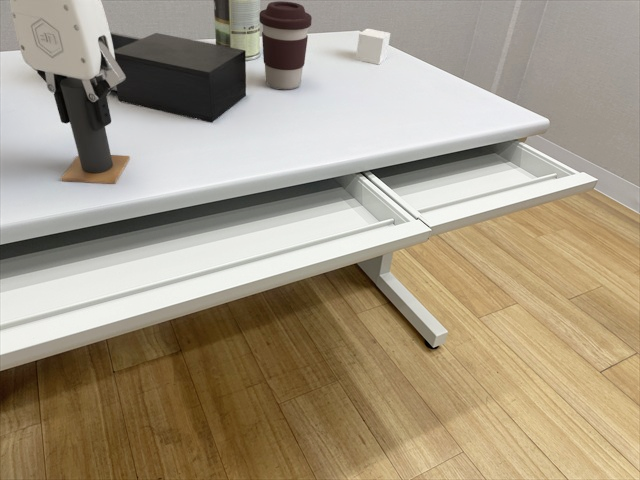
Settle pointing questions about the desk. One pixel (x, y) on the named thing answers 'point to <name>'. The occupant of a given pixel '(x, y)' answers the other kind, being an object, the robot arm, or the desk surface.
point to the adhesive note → (372, 46)
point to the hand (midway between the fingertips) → (86, 121)
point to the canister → (85, 129)
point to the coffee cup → (284, 43)
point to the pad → (110, 176)
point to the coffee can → (238, 25)
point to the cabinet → (182, 76)
